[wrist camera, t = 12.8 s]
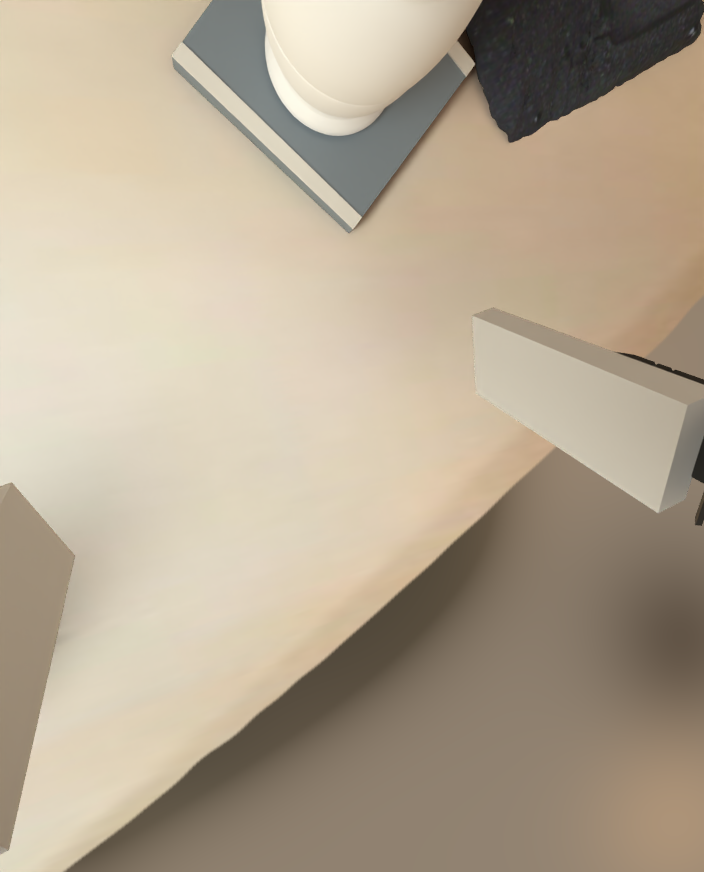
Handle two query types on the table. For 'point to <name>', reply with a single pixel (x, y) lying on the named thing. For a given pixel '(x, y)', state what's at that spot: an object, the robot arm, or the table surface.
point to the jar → (355, 54)
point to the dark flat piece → (570, 52)
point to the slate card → (289, 138)
